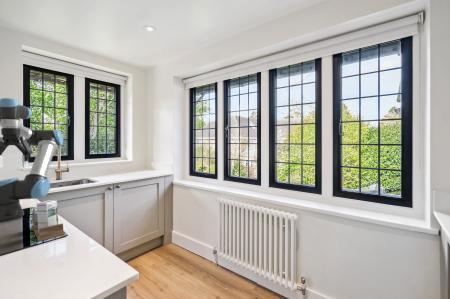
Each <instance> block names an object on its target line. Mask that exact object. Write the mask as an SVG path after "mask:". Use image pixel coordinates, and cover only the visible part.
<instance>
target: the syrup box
mask: <svg viewBox="0 0 450 299" xmlns="http://www.w3.org/2000/svg"><path fill="white" fill-rule="evenodd" d="M36 210H37V218H38V232H39V228H44V227H48V226H53V225H57V224H59V217H58V216H59V214H58V213H59V212H58V200H55V199H54V200H53V199H49V200H44V201H42V202H38V203H36Z"/></svg>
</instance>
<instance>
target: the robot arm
mask: <svg viewBox="0 0 450 299" xmlns="http://www.w3.org/2000/svg"><path fill="white" fill-rule="evenodd" d="M32 116H33V112H32V110H31V108H30V107H28V106H25V105H21V104H20V103H19V100H18V99H17V98H7V97H4V98H3V97H2V98H0V127H1V130H0V134H1V135H2V136H0V169H2V168H4V156H3V153H4V152H5V151H6V150H7V148H8V147H10V146H14V147H16V148H17V149H18V151H19V152H20V153H21V154H22V155H21V161H22V164H21V165H22V168H23V169H24V168H29V161H30V155H31V154H33V153H34V152H33V150H32V148H31V147H30V146H33V147H39V148H38V150H37V153H36V156H35V157H34V160H33V164H32V165H31V166H32V167H31V169H30V172H29V173H28V174H26V175H25V176H24V179H19V178H18V177H14V178H8V179H2V180H0V222H5V221H12V220H15V219H19V218H21V217H23V216H24V215H25V212H24V211H25V210H23V207H22V206H21V203H20V200H31V199H34V200H36V199H42V198H44V197H46V196H47V195H48V193H49V191H50V189H51V187H50V186H51V182H50V180H49V179H48V177H47V175H48V171H49V169H50V166H51V162H52V160H53V156H54V153H55V151H56V150H58V149H59V147H61V146H63V145H64V136H63V133H62V132H61V130H59V129H30V128H29V127H25V125H23V124H22V123H20V121H21V120H28V119H30V118H31V117H32Z"/></svg>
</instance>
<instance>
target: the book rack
mask: <svg viewBox="0 0 450 299" xmlns="http://www.w3.org/2000/svg"><path fill="white" fill-rule="evenodd" d="M31 228H32V231H34V232H33V234H34V233H35V234H34V236H35V235H36V236H35V238H36V237H37V238H36V239H37V241H38V242H43V241H47V240H50V239H54V238H58V237H63V236H65V235H66V232H65V230H64V223H62V222H61V223H58V224H57V225H53V226H48V227H44V228H39V232H38V218H37V209H36V210H32V226H31Z"/></svg>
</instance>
